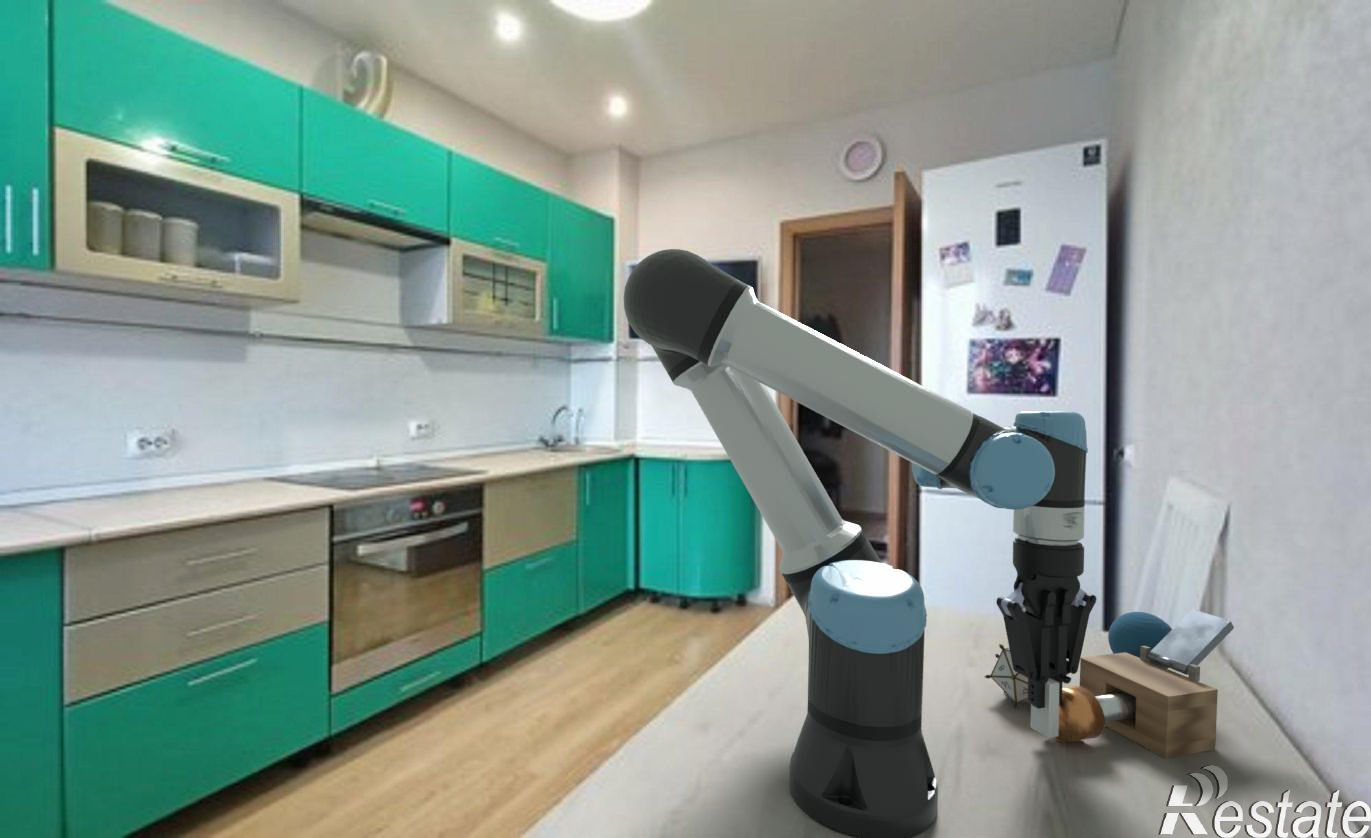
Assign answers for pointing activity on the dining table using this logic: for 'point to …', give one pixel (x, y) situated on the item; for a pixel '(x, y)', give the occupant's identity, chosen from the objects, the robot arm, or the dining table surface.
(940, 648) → the dining table surface
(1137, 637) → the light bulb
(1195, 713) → the hitch block
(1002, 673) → the game die
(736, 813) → the dining table surface
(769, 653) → the dining table surface
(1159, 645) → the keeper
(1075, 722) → the pin
